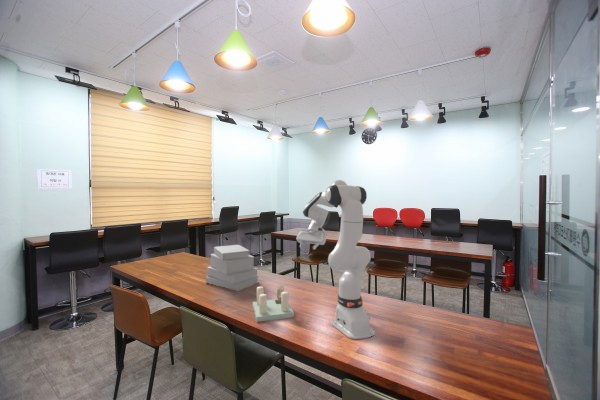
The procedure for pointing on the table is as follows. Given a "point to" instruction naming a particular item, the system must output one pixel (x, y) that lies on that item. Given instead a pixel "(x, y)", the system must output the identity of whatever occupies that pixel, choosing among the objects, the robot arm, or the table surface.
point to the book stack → (232, 268)
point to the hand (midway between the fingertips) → (307, 248)
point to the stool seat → (271, 307)
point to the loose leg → (279, 293)
